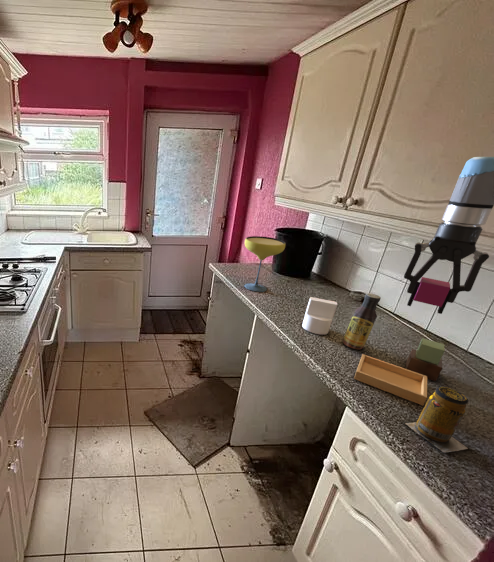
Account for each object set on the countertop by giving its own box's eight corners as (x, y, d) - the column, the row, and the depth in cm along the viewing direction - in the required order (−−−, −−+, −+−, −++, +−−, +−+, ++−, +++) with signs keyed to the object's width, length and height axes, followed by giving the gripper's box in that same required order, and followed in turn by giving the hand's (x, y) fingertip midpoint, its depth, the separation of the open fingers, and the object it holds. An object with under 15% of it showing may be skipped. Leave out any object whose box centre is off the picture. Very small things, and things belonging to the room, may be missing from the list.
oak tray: (423, 383, 92) (427, 376, 91) (423, 405, 84) (427, 397, 83) (359, 361, 102) (362, 353, 101) (353, 378, 94) (356, 371, 93)
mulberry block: (441, 301, 85) (449, 282, 82) (441, 307, 81) (450, 287, 79) (414, 294, 88) (422, 276, 86) (413, 300, 84) (421, 281, 82)
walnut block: (435, 371, 98) (441, 358, 97) (435, 381, 94) (442, 367, 92) (406, 361, 103) (412, 348, 101) (405, 371, 98) (411, 357, 96)
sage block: (437, 358, 97) (444, 344, 95) (437, 364, 93) (444, 350, 91) (416, 351, 100) (422, 337, 98) (415, 357, 96) (422, 344, 94)
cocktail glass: (251, 279, 171) (260, 234, 162) (282, 290, 157) (293, 242, 148) (229, 285, 162) (237, 238, 153) (260, 297, 148) (270, 246, 139)
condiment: (427, 420, 79) (447, 382, 75) (468, 449, 71) (492, 408, 67) (404, 424, 78) (423, 385, 73) (443, 453, 70) (466, 412, 65)
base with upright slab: (327, 326, 124) (335, 299, 119) (329, 336, 116) (339, 308, 112) (301, 320, 127) (309, 294, 123) (302, 330, 120) (310, 302, 116)
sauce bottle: (339, 344, 111) (357, 294, 104) (345, 338, 115) (362, 289, 108) (361, 353, 107) (381, 300, 99) (366, 346, 111) (385, 295, 103)
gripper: (516, 228, 73) (471, 315, 82) (412, 216, 85) (383, 294, 94) (522, 232, 68) (473, 325, 77) (411, 219, 80) (380, 301, 88)
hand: (424, 308), depth 85 cm, fingers closed on mulberry block, 5 cm apart
